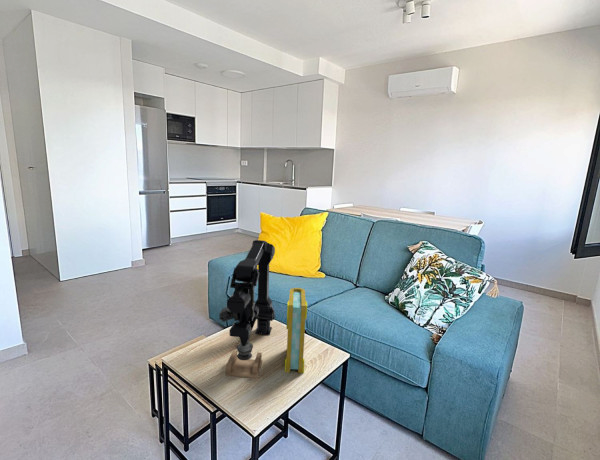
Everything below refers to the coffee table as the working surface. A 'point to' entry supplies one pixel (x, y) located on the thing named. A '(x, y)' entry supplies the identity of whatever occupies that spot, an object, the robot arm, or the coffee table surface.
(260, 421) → the coffee table surface
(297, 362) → the book
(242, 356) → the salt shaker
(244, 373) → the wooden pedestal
